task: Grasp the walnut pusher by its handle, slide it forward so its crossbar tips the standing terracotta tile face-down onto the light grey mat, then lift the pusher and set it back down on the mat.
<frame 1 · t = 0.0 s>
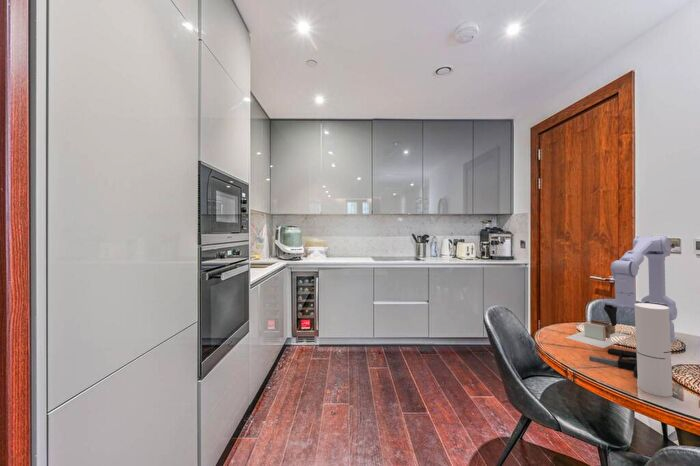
hand: (626, 327, 111), 10 cm above the table, tool pointing down, fingers open, 7 cm apart
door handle: (620, 365, 104), on the table
cylindrical container: (654, 390, 87), on the table
pusher: (606, 333, 132), resting on mat
tile: (594, 338, 127), resting on mat
mat: (598, 337, 129), on the table
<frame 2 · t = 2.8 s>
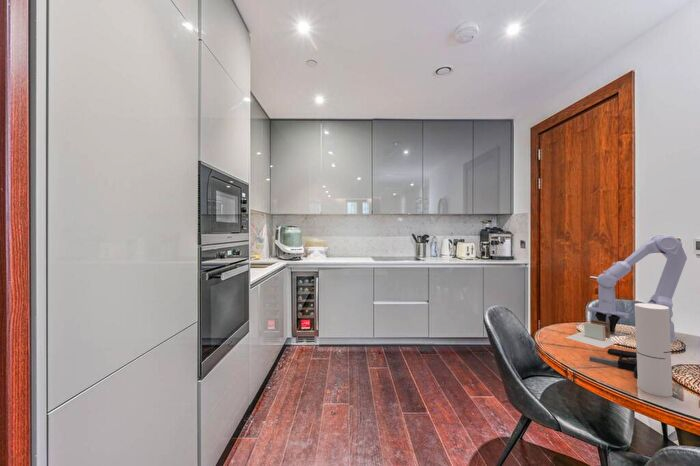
hand: (608, 330, 132), 2 cm above the table, tool pointing down, fingers closed on pusher, 2 cm apart
pusher: (606, 333, 132), resting on mat, touching gripper
everything else where it was.
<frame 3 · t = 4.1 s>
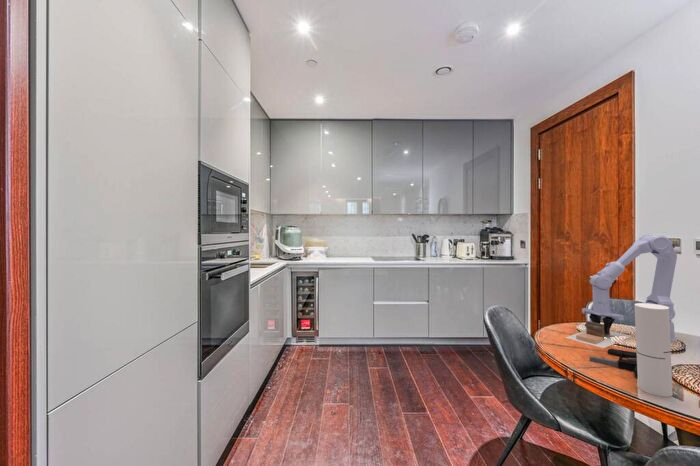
hand: (602, 332, 130), 2 cm above the table, tool pointing down, fingers closed on pusher, 2 cm apart
pusher: (601, 335, 130), resting on mat, touching gripper
tile: (593, 336, 127), point 1 cm above the table, tilted 90°, touching mat
everything else where it was.
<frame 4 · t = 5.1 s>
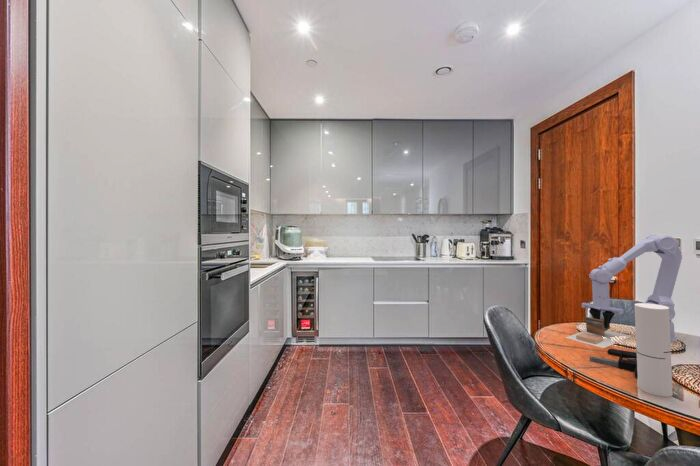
hand: (602, 326, 130), 4 cm above the table, tool pointing down, fingers closed on pusher, 2 cm apart
pusher: (601, 330, 130), point 3 cm above the table, touching gripper
everything else where it was.
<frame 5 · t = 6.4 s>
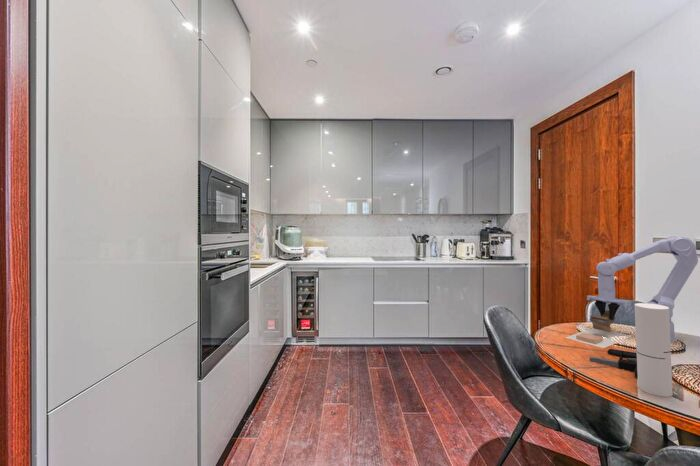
hand: (607, 318, 132), 7 cm above the table, tool pointing down, fingers closed on pusher, 2 cm apart
pusher: (607, 323, 132), point 5 cm above the table, tilted 22°, touching gripper
everything else where it was.
when the fingers open (3 cm above the table, at t = 7.2 s): pusher drops 1 cm, resting on mat.
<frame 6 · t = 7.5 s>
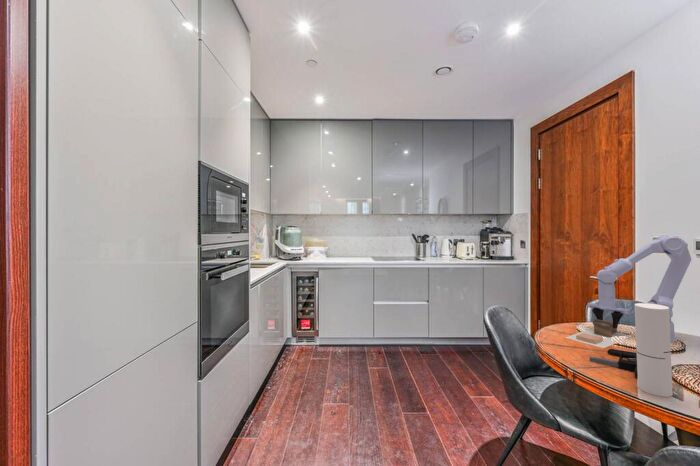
hand: (608, 326, 132), 3 cm above the table, tool pointing down, fingers open, 5 cm apart
pusher: (608, 333, 133), resting on mat
everything else where it was.
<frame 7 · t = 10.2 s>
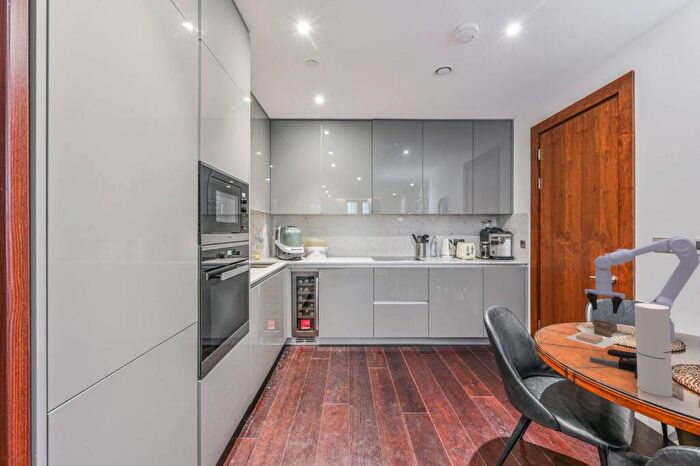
hand: (604, 311, 135), 9 cm above the table, tool pointing down, fingers open, 7 cm apart
nothing on the table moved.
at the end: tile tilted 90°; tile inside the target area (1.1 cm from its centre), point 1.3 cm above the table; the gripper is holding nothing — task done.
